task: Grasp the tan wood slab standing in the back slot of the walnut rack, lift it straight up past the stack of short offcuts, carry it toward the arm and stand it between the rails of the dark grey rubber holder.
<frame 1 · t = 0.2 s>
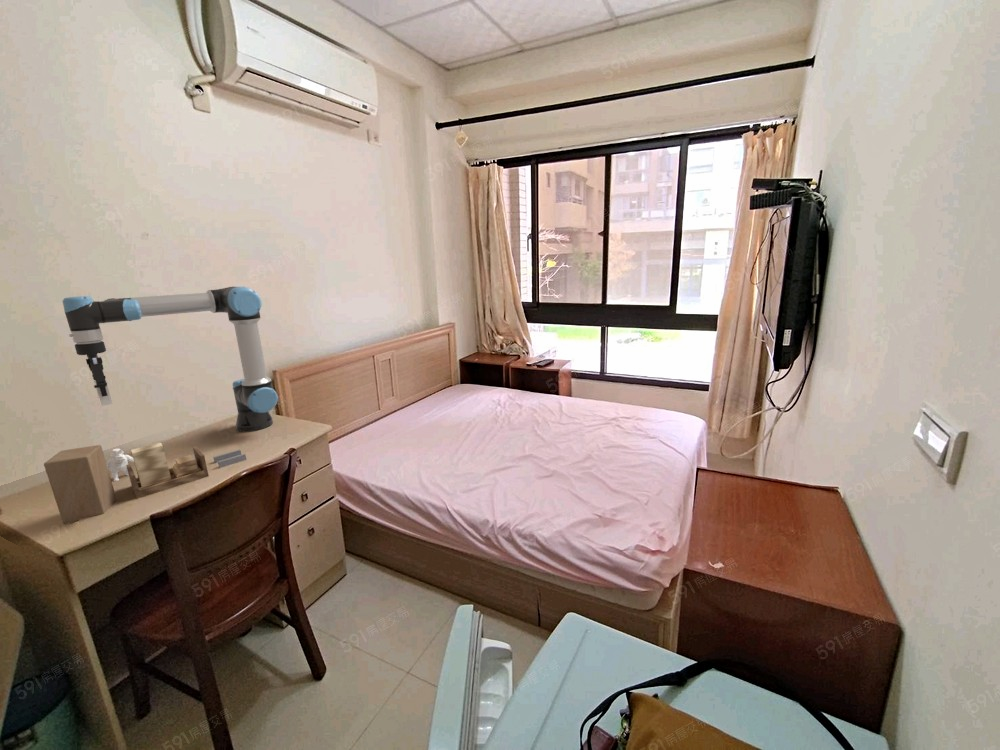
hand: (105, 400, 154), 28 cm above the table, fingers open, 13 cm apart
rack: (171, 483, 151), on the table
offcut stack: (188, 475, 155), point 1 cm above the table, touching rack
holder: (231, 463, 166), on the table
wooden block: (91, 513, 135), on the table
figurine: (124, 480, 155), on the table
tan wood slab: (156, 485, 148), point 1 cm above the table, touching rack
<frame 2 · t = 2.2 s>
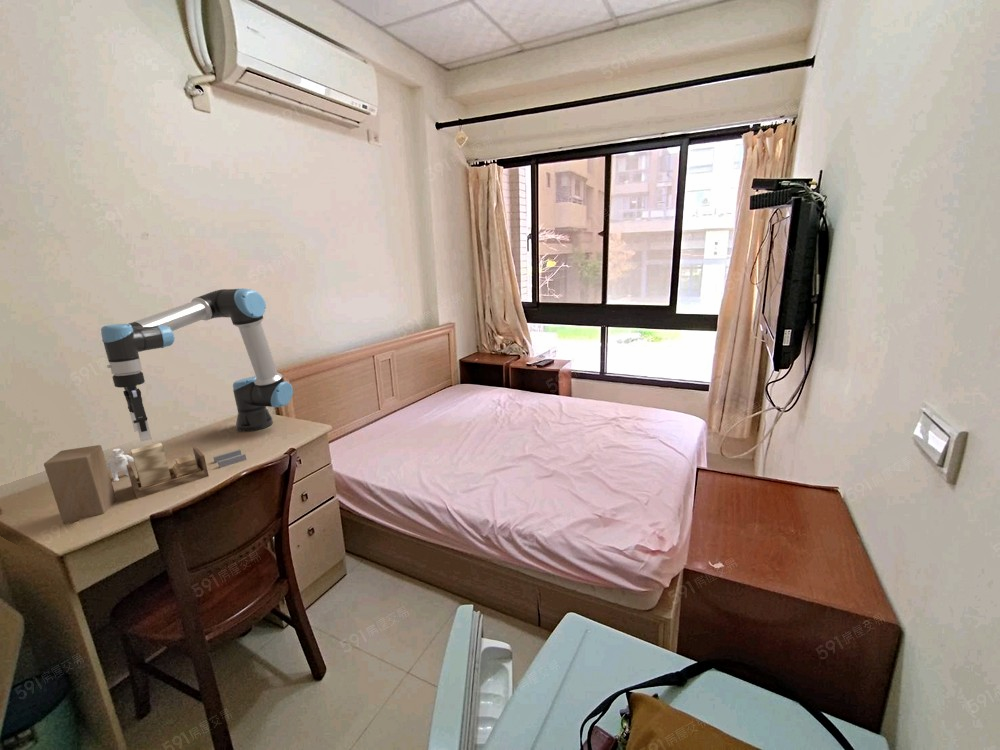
hand: (142, 435, 143), 20 cm above the table, fingers open, 13 cm apart
nothing on the table moved.
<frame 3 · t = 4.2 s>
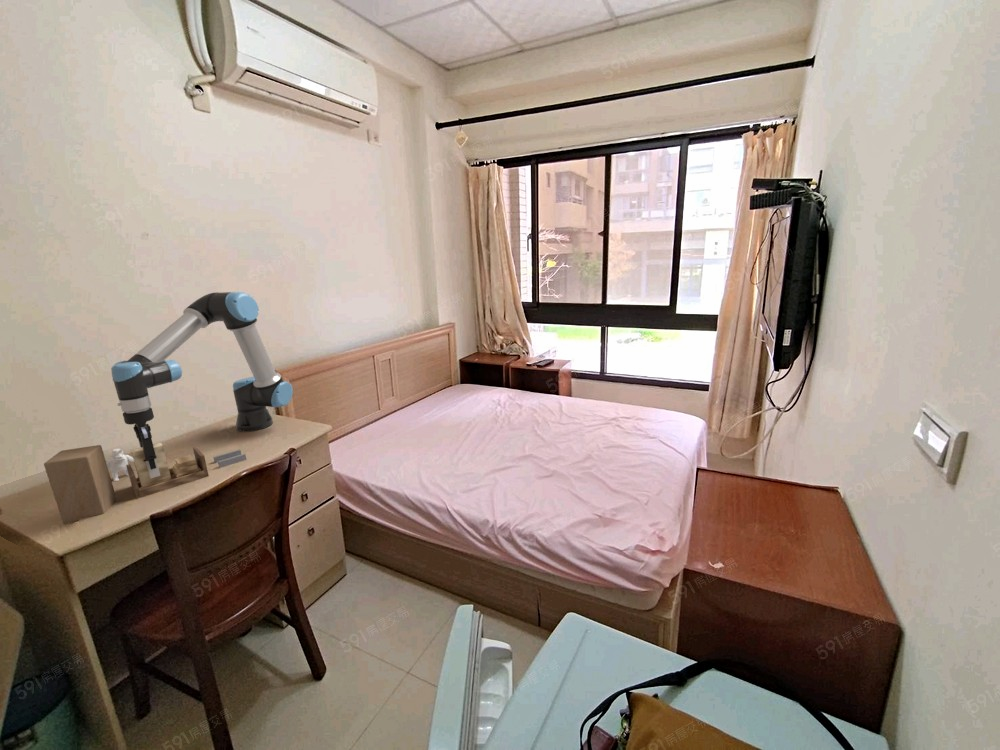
hand: (154, 474, 147), 5 cm above the table, fingers closed on tan wood slab, 4 cm apart
tan wood slab: (156, 485, 148), point 1 cm above the table, touching gripper, rack
everything else where it was.
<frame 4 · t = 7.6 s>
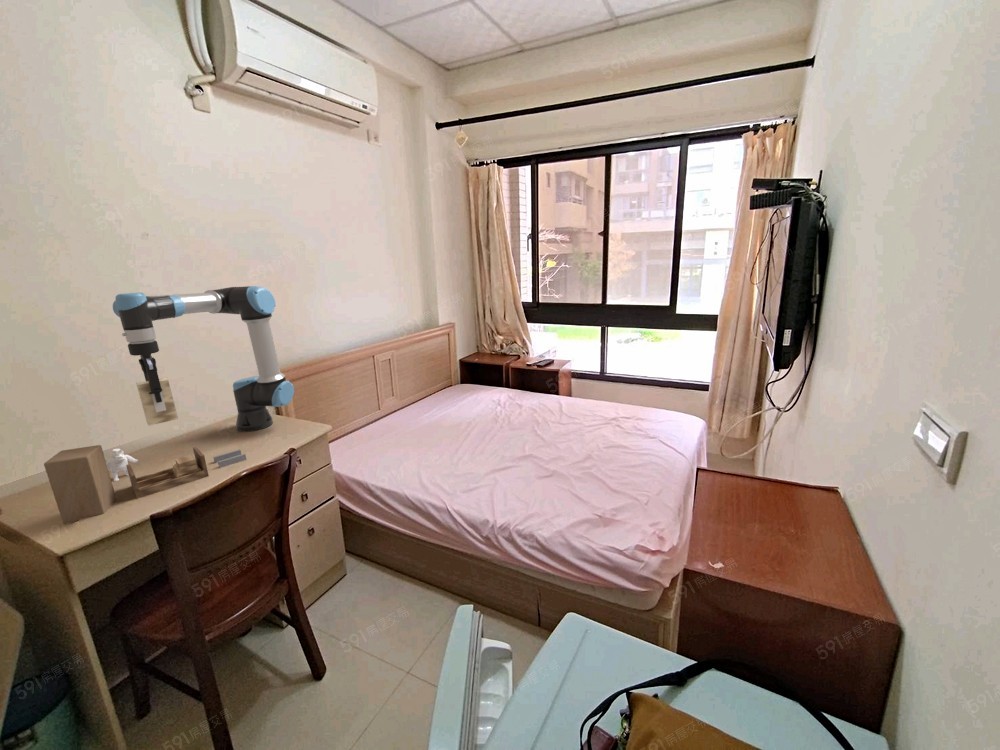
hand: (159, 409, 146), 27 cm above the table, fingers closed on tan wood slab, 4 cm apart
tan wood slab: (162, 420, 147), point 23 cm above the table, touching gripper
everything else where it was.
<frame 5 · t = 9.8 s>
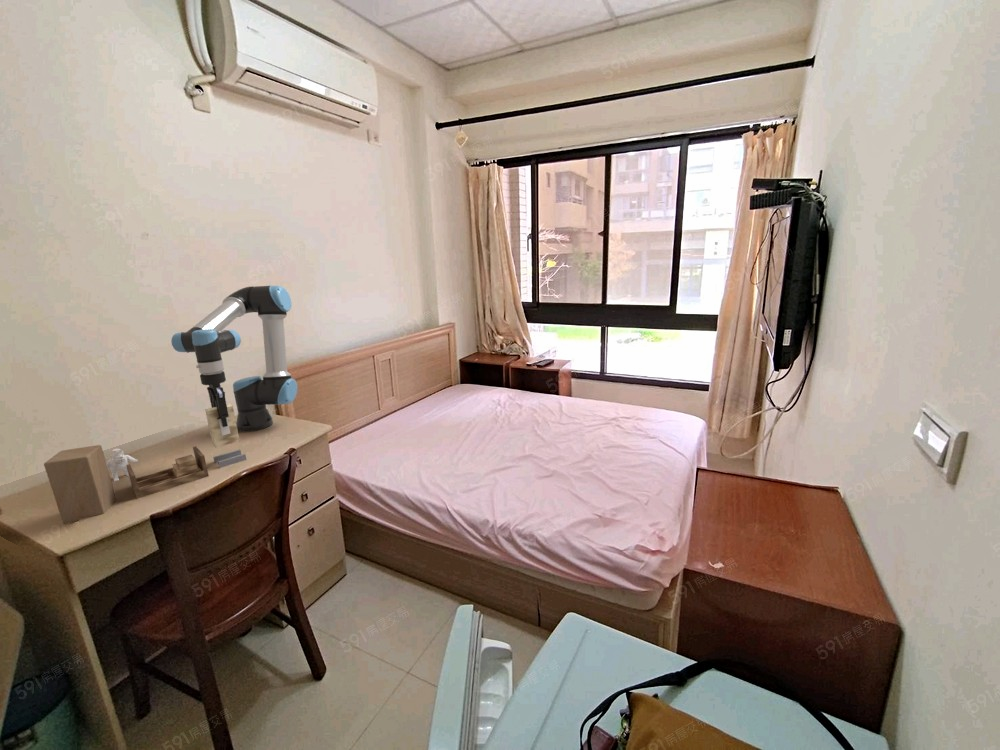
hand: (224, 432, 162), 13 cm above the table, fingers closed on tan wood slab, 4 cm apart
tan wood slab: (226, 442, 163), point 9 cm above the table, touching gripper
everything else where it was.
when the fingers open (6 cm above the table, at t = 11.3 s): tan wood slab stays where it is, resting on holder.
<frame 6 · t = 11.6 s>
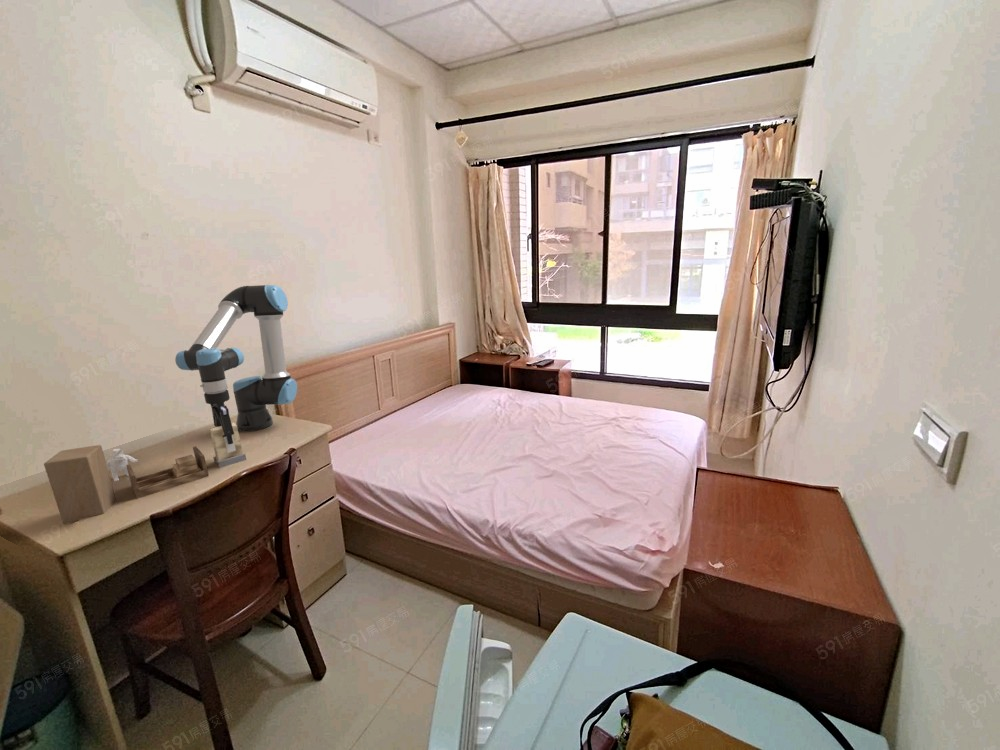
hand: (227, 448, 164), 6 cm above the table, fingers open, 9 cm apart
tan wood slab: (230, 461, 166), point 1 cm above the table, touching holder
everything else where it was.
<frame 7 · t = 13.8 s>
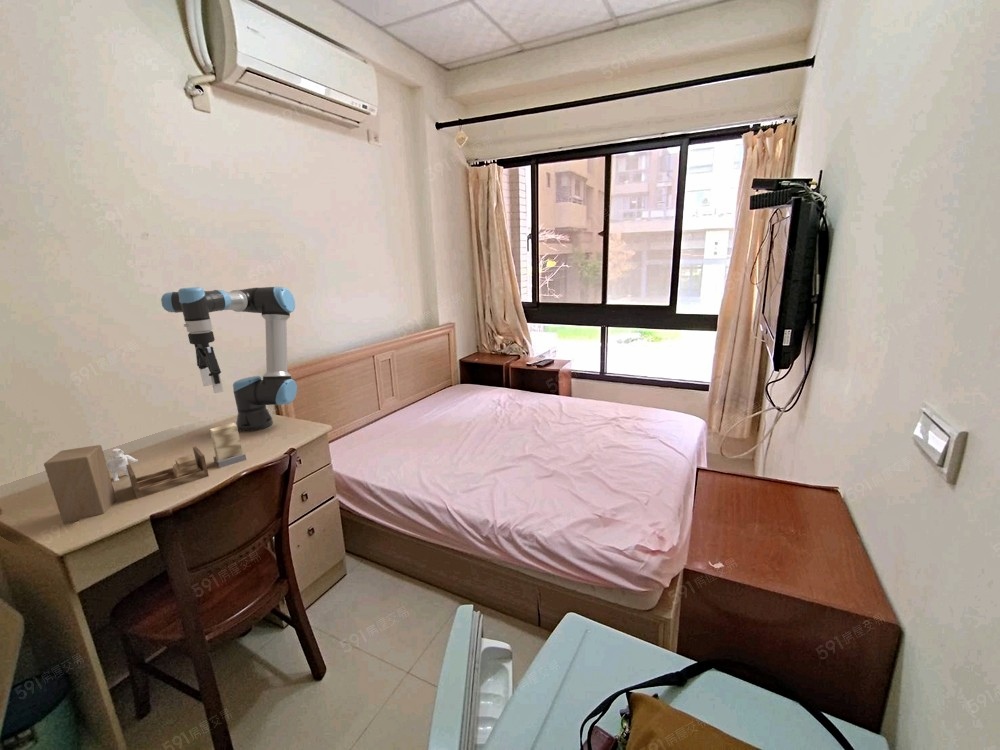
hand: (213, 388, 160), 29 cm above the table, fingers open, 13 cm apart
nothing on the table moved.
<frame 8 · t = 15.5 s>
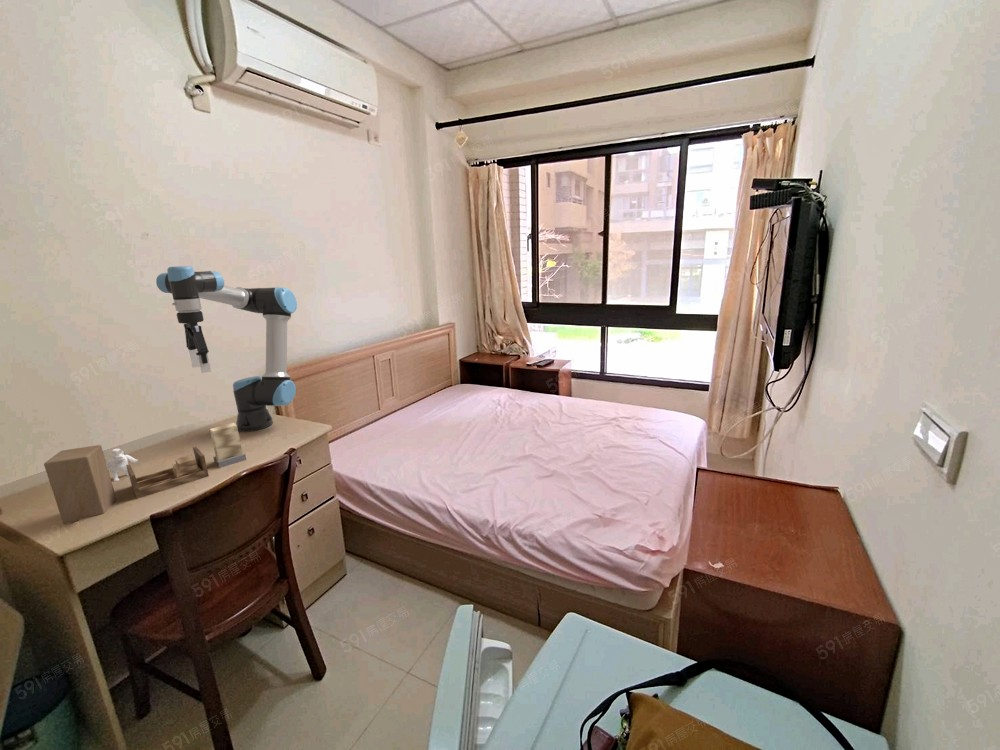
hand: (201, 369, 159), 37 cm above the table, fingers open, 13 cm apart
nothing on the table moved.
at the end: tan wood slab 0.0 cm off-centre on the holder, point 0.8 cm above the holder's base; tan wood slab tilted 0°; tan wood slab touching holder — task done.
